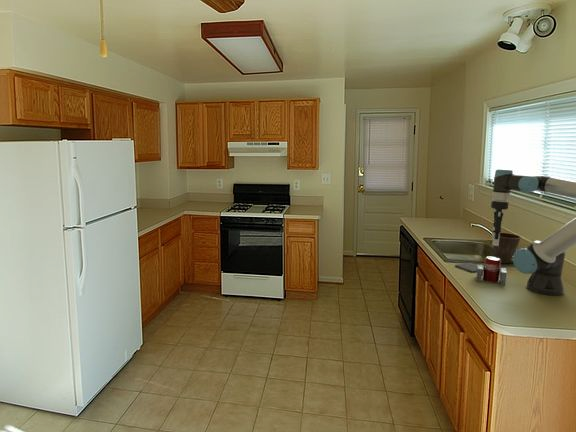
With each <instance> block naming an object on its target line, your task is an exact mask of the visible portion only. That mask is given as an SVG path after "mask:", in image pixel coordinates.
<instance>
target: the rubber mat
mask: <svg viewBox="0 0 576 432" xmlns="http://www.w3.org/2000/svg"><path fill="white" fill-rule="evenodd" d="M478 265H479V264H476V263H473V262H465V263H459V264H454V267H455V266H456V268H459V269H460V268H461V270H463V269H464V270H463V271H467V272H469V273H471V274H473V273H477V269H478ZM483 272H484V266H483Z"/></svg>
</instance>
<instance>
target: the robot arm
mask: <svg viewBox="0 0 576 432" xmlns="http://www.w3.org/2000/svg"><path fill="white" fill-rule="evenodd" d="M513 172H514V171H513V170H512V169H508V168H506V169H504V168H497V169H496V170H495V173H494V177H493V188H492V189H493V190H492V193H491V194H490V195H491V197H492V198H491V200H492V201H491V204H490V208H491V209H494V210H495V211H494V212H493V219H494V220H493V225H492V226H493V227H492V234H491V240H493V242H492V246H493V245H494V246H499V238H500V233H502V230H501V229H502V222H503V217H504V212H503V211H505V210H508V209H509V203H510V202H509V201H510V195H511V191H517V192H523V193H533V192H535V191H538V192H542V193H546V194H552V195H557V196H562V197H565V198H570V199H574V200H576V181H575V180H570V179H564V178H561V177H560V178H559V177H555V176H554V177H553V176H550V175H548V174H514V173H513ZM575 245H576V217H574V218H573V219H572V220H570V221H569V222H567V223H565V224H564V225H563V226H562V227H560V228H558V229H557V230H556V231H554V232H553V233H551V234H550V235H548V236H547V237H545V238H544V239H543V240H535V241H533V242H532V243H530V244H529V245H527V246H525V247H521V248H519V249H516V251H515V253H514V255H513V257H512V262H513V266H514V267H515V269H516V270H517V271H519V272H520V273H522V274H526V275H530V274H531V275H530V276H529V278H528V280H527V283H526V288H527V289H528V290H530V291H531V292H535V293H537V294H543V295H547V296H561V295H564V292H565V289H564V284H563V280H562V279H563V278H562V275H563V267H564V261H565V256H566V252H567V251H568V250H569V249H571V248H572V247H574V246H575Z"/></svg>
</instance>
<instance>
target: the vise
mask: <svg viewBox="0 0 576 432" xmlns="http://www.w3.org/2000/svg"><path fill="white" fill-rule="evenodd" d="M477 265H478V269H477V272H476V282H480V283H481V281H482V277H483V272H484V271H483V267H484V266H483V265H482V264H477ZM507 273H508V271H507V268H505V267H500V273H499V282H500V285H501V286H506V284H507V283H506V282H507V276H508V275H507Z"/></svg>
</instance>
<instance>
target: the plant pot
mask: <svg viewBox="0 0 576 432" xmlns="http://www.w3.org/2000/svg"><path fill="white" fill-rule="evenodd" d="M491 240H492V239H491ZM520 241H521V236H520V235H517V234H514V233H507V232H500V238H499V246H494V245H492V249H493V250H492V251H493V254H494V255H493V256H494V257H497V258H500V259H501V263H503V264H509V263H510V262H511V260H513V255H514V253H515V252H516V251H517V250H518V249H517V248H518V246H519V243H520ZM491 242H492V243H493V240H492V241H491Z"/></svg>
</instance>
